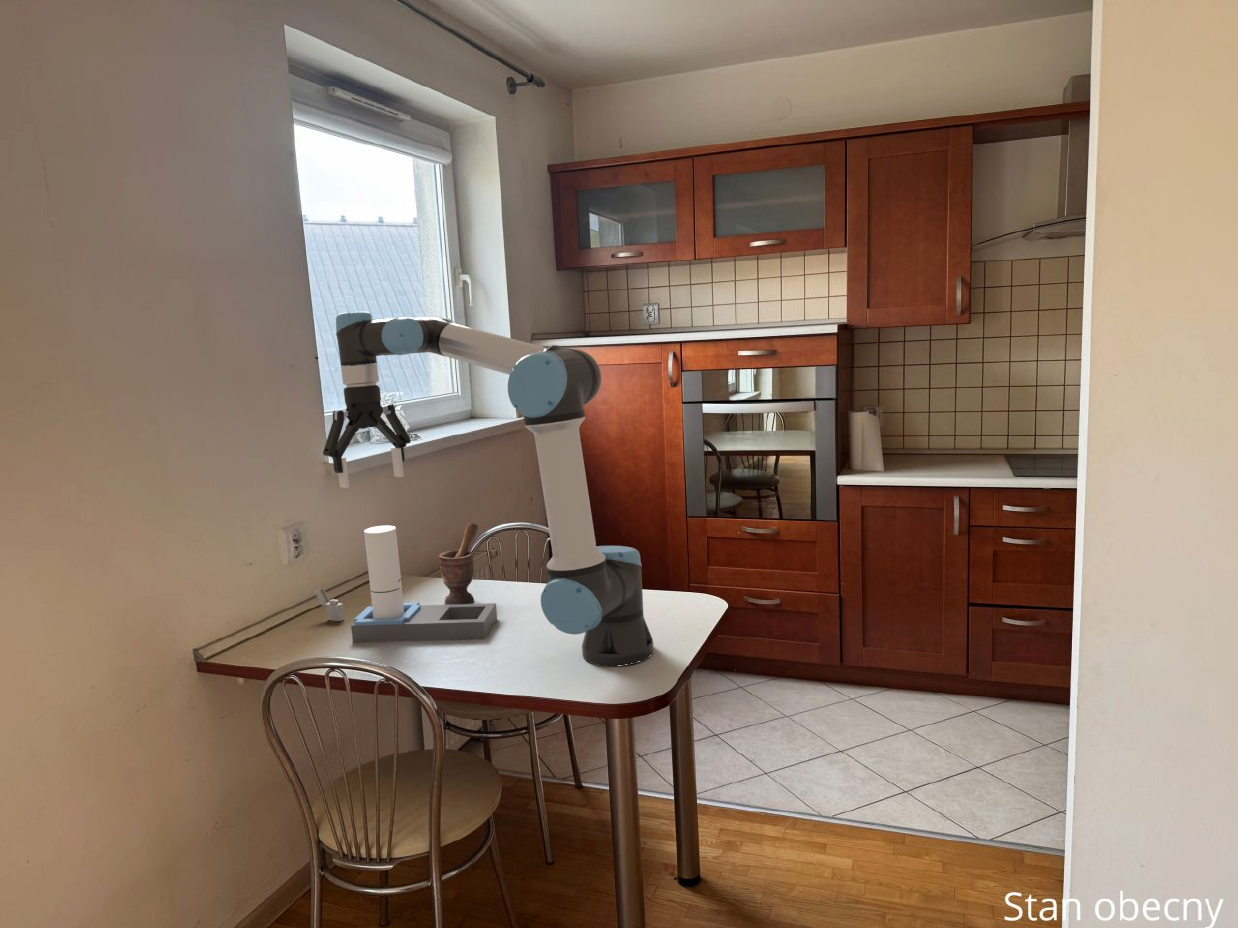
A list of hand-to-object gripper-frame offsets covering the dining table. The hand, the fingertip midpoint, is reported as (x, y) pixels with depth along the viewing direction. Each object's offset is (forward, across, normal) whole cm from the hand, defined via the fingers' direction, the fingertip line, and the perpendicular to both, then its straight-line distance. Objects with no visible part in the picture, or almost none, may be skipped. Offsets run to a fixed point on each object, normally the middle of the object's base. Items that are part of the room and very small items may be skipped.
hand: (372, 482), depth 185 cm
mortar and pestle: (+38, -30, -12) cm, 50 cm away
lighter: (+38, -2, -29) cm, 48 cm away
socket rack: (+38, -11, -2) cm, 39 cm away
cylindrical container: (+38, -5, -8) cm, 39 cm away
